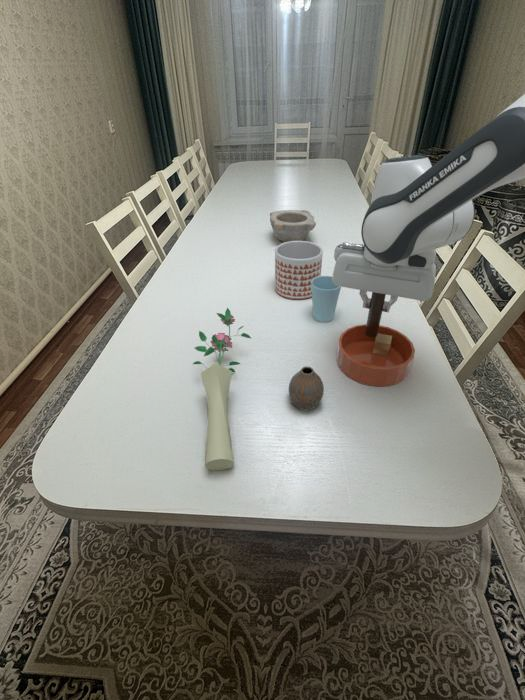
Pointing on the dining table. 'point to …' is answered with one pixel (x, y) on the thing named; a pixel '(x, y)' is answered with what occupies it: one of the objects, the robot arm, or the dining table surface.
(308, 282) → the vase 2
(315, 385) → the vase
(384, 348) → the block
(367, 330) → the dark brown cylinder
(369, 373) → the bowl
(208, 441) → the flower vase
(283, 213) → the mortar
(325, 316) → the cup
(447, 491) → the dining table surface
